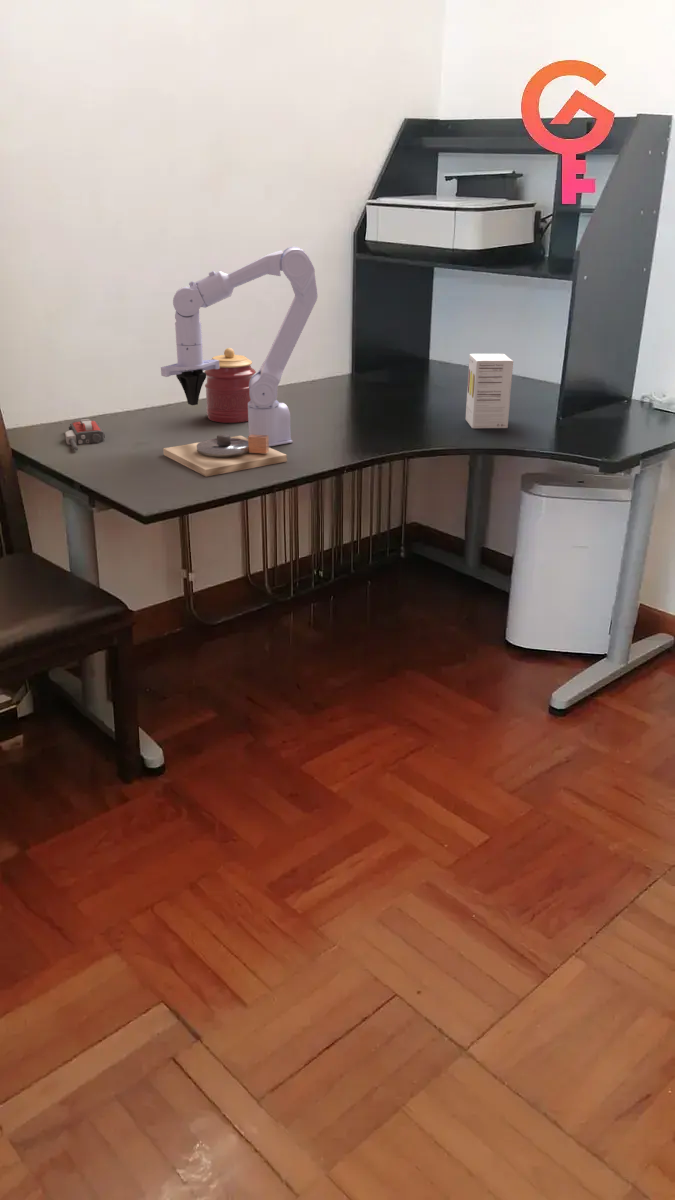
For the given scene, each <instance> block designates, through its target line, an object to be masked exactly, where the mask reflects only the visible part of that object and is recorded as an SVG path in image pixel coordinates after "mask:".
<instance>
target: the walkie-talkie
mask: <svg viewBox="0 0 675 1200" xmlns="http://www.w3.org/2000/svg"><path fill="white" fill-rule="evenodd" d="M105 436H106V435H105V432H104V430H103V429H102V427H101V425H100V424H99V423H98V421H95V420H94V419H90V418H86V419H85V418H83V419H80V420H74V421H72V422H70V424H69V426H68V431H65V432H64V437H65V441H66V444H67V445H71V447H72V449H73V450H75V451H78V450H79V448H78V445H82V444H93V443H104V442H105V438H106V437H105Z"/></svg>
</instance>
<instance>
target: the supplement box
mask: <svg viewBox="0 0 675 1200" xmlns="http://www.w3.org/2000/svg"><path fill="white" fill-rule="evenodd" d="M513 369H514V360H513V359H511V358H510V357H509V356H508V355H506V354H505V353H469V358H468V375H467V388H466V389H467V390H466V406H465V421H466V422H467V423H468V425H469V426H470V427H471V429H508V427H509V417H510V416H509V414H510V406H511V405H510V404H511V402H510V401H511V391H512V389H511V388H512V381H513Z"/></svg>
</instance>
